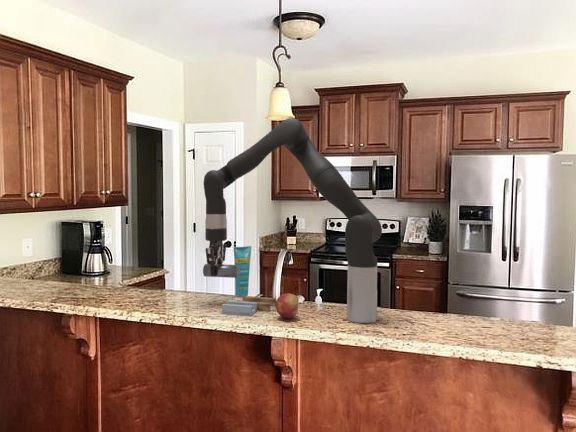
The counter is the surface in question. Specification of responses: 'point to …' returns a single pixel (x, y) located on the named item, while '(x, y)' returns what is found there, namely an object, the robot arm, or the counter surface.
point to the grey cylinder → (222, 271)
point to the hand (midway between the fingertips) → (216, 274)
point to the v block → (239, 308)
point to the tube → (242, 269)
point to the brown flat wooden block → (261, 302)
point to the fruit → (287, 305)
